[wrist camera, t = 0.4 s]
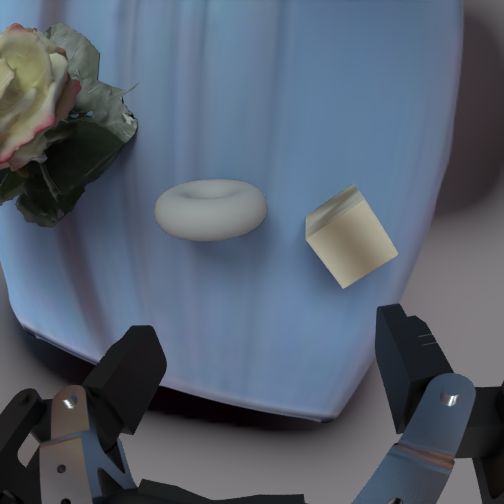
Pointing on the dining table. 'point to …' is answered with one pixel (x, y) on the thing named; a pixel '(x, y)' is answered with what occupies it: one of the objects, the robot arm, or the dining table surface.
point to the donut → (210, 209)
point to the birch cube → (348, 237)
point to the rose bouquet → (55, 120)
